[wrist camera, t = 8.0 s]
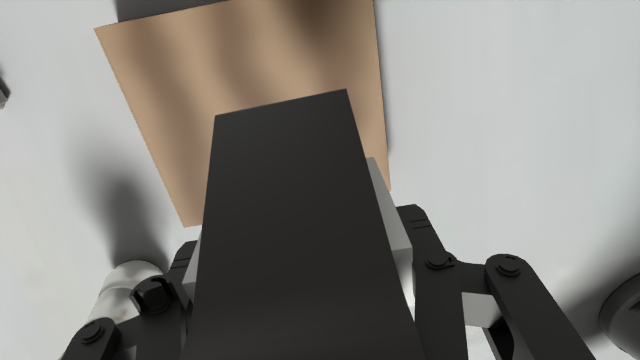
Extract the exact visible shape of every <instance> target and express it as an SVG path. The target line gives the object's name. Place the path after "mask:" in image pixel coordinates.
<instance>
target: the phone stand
mask: <svg viewBox="0 0 640 360" xmlns="http://www.w3.org/2000/svg"><path fill="white" fill-rule="evenodd" d="M179 360H426V358H425V354H424V351H423V347H422V344H421V341H420V338H419V335H418V332H417V329H416V326H415V323H414V320H413V318H412V315H411V312H410V310H409V307H408V304H407V301H406V298H405V295H404V292H403V289H402V285H401V282H400V279H399V275H398V272H397V268H396V265H395V261H394V258H393V254H392V250H391V247H390V243H389V240H388V236H387V232H386V229H385V225H384V222H383V218H382V215H381V211H380V207H379V204H378V200H377V197H376V193H375V189H374V186H373V182H372V179H371V175H370V172H369V168H368V164H367V161H366V157H365V154H364V150H363V146H362V143H361V139H360V136H359V132H358V129H357V125H356V121H355V118H354V114H353V111H352V107H351V103H350V100H349V96H348V93H347V89H346V88H345V89H340V90H335V91H330V92H325V93H320V94H315V95H311V96H306V97H301V98H296V99H291V100H286V101H281V102H277V103H272V104H267V105H262V106H257V107H252V108H247V109H243V110H238V111H233V112H228V113H223V114H218V115H215V119H214V127H213V136H212V145H211V153H210V162H209V171H208V180H207V188H206V197H205V206H204V214H203V223H202V232H201V241H200V249H199V258H198V267H197V275H196V284H195V293H194V302H193V310H192V316H191V322H190V326H189V331H188V334H187V338H186V341H185V344H184V347H183V350H182V353H181V355H180V358H179Z"/></svg>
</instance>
